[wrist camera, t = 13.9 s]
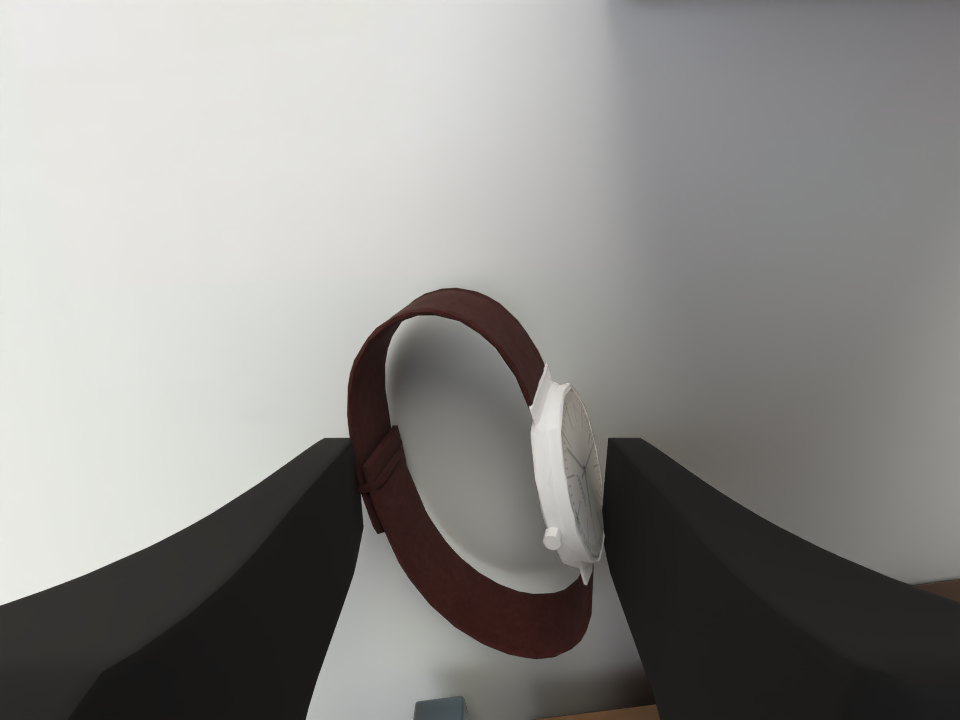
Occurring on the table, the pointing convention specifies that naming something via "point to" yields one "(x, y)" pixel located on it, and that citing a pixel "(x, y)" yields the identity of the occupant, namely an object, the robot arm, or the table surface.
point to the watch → (558, 474)
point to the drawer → (451, 716)
